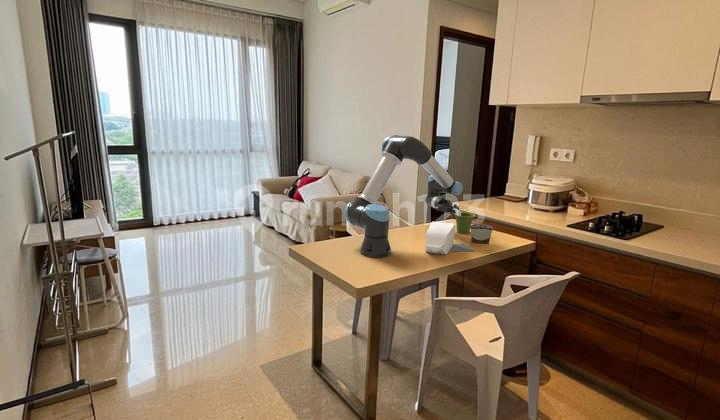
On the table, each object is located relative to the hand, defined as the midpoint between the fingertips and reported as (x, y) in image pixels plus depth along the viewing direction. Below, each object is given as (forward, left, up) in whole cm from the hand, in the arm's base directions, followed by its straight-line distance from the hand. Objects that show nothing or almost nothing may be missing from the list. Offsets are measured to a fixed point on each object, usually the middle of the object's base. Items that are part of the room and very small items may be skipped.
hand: (459, 213), depth 200 cm
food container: (+16, +5, -18) cm, 25 cm away
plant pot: (+17, +25, -18) cm, 35 cm away
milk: (-6, +6, -12) cm, 15 cm away
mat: (-2, -2, -18) cm, 18 cm away
